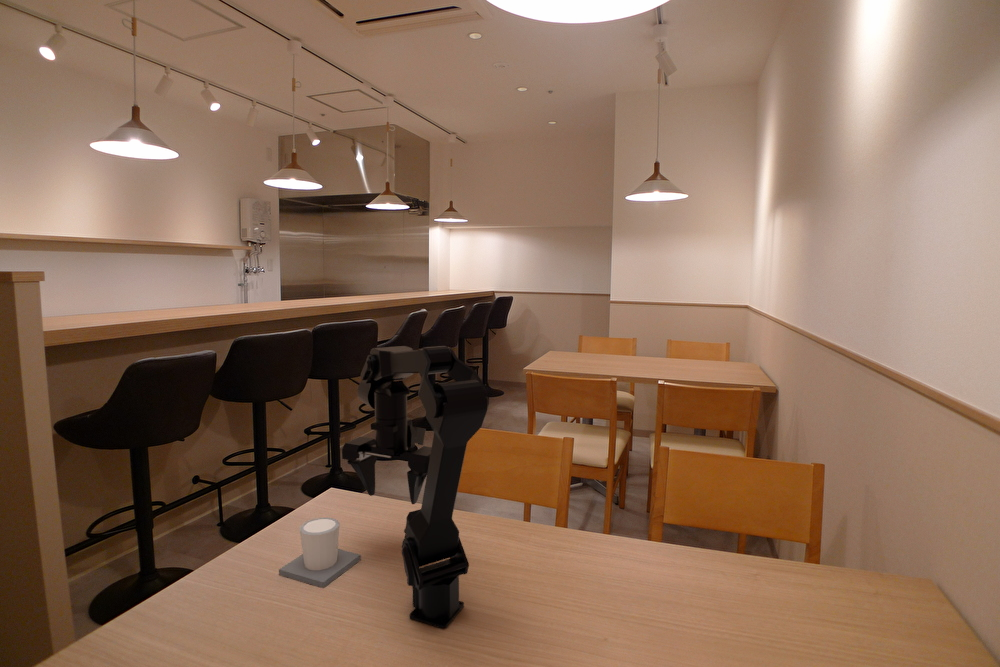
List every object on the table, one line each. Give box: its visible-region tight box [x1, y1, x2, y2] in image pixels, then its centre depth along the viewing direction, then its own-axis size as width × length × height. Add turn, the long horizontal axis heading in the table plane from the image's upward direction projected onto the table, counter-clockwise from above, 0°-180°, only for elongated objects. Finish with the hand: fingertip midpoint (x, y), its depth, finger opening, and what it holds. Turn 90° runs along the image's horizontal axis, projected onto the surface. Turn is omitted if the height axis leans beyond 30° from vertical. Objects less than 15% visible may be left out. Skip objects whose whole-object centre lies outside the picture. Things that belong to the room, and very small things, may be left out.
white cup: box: [299, 516, 340, 570], centre depth 97 cm, size 7×7×7 cm
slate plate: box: [278, 548, 362, 589], centre depth 98 cm, size 10×10×1 cm
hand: (392, 499), depth 98 cm, fingers open, 9 cm apart
